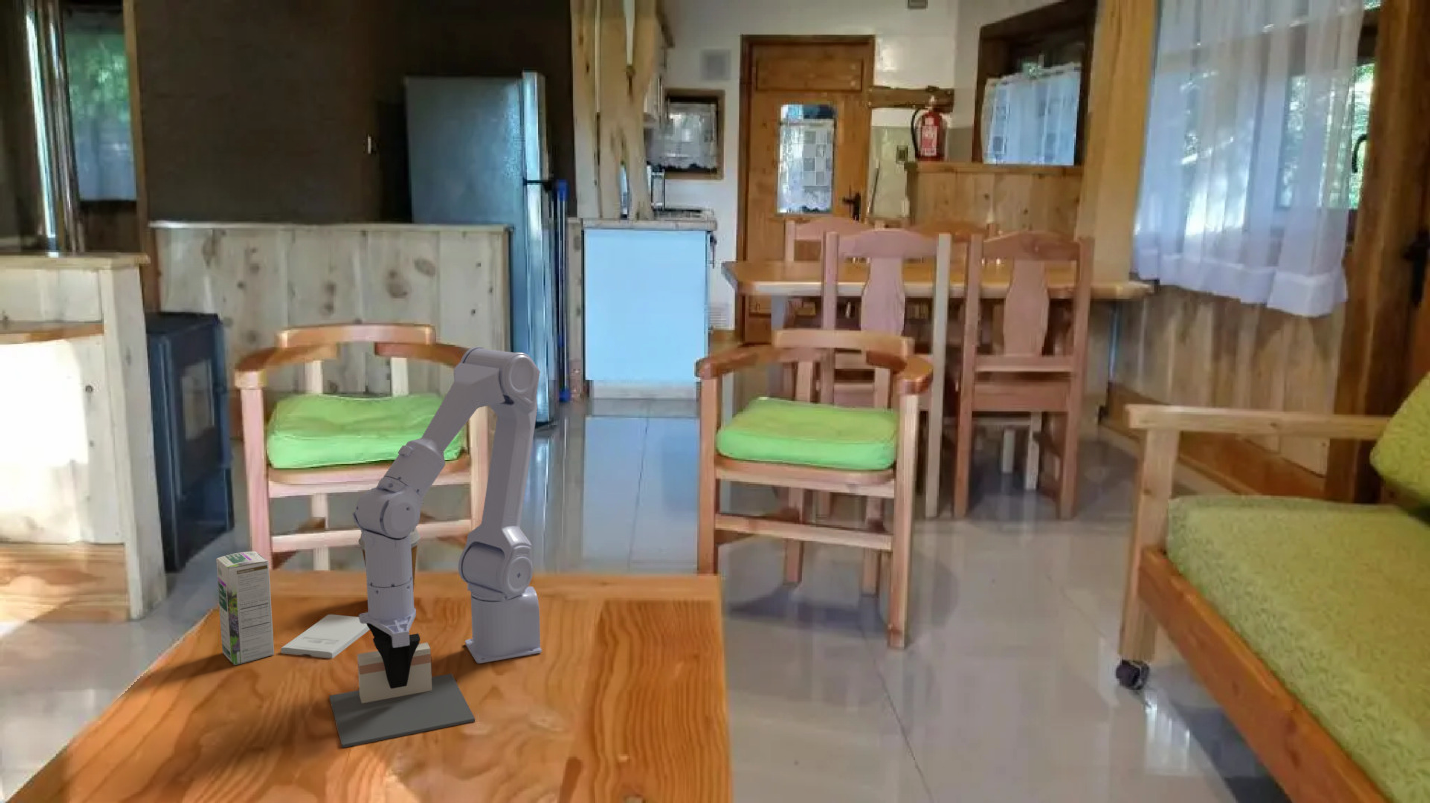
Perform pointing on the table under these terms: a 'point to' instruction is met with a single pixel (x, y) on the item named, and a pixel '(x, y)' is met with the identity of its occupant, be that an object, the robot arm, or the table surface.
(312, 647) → the external hard drive
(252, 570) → the syrup box
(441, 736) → the table surface
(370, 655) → the card deck
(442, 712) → the mat
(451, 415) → the robot arm
